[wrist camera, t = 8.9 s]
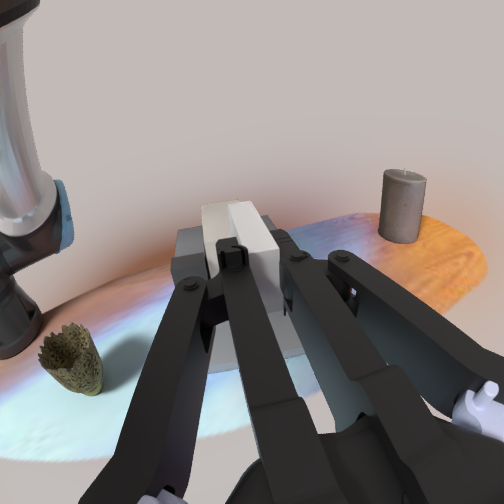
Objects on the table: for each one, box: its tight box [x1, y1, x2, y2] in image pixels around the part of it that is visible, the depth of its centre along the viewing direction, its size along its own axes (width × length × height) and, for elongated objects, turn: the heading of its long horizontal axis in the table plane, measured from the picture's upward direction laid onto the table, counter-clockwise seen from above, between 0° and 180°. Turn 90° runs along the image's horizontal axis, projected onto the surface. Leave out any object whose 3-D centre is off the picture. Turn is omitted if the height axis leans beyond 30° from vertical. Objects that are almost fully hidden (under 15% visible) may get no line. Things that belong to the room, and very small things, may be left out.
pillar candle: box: [378, 169, 427, 244], centre depth 52 cm, size 10×10×15 cm
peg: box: [201, 200, 239, 279], centre depth 40 cm, size 14×6×7 cm, turn 11°
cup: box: [38, 323, 103, 396], centre depth 26 cm, size 8×7×8 cm
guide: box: [171, 215, 306, 374], centre depth 38 cm, size 24×17×10 cm
